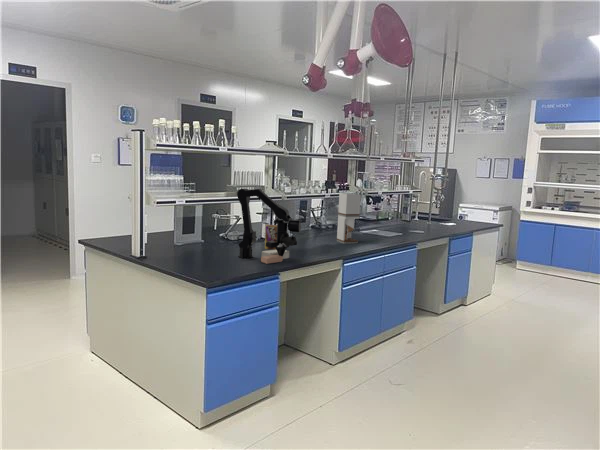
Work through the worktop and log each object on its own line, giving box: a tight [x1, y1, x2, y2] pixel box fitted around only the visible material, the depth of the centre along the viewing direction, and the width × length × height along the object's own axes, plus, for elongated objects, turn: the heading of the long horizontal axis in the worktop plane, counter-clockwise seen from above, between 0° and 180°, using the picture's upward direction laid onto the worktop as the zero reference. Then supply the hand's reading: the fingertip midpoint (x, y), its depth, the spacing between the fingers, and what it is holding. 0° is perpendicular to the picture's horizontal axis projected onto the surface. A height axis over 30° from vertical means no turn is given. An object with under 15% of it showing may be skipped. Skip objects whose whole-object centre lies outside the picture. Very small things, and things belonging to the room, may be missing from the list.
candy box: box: [264, 224, 277, 250], centre depth 284 cm, size 9×4×15 cm, turn 96°
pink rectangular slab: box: [260, 255, 284, 265], centre depth 246 cm, size 11×5×3 cm, turn 132°
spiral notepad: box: [261, 249, 290, 260], centre depth 257 cm, size 14×8×4 cm, turn 132°
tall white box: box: [336, 192, 362, 245], centre depth 319 cm, size 11×11×35 cm
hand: (281, 258), depth 251 cm, fingers closed
